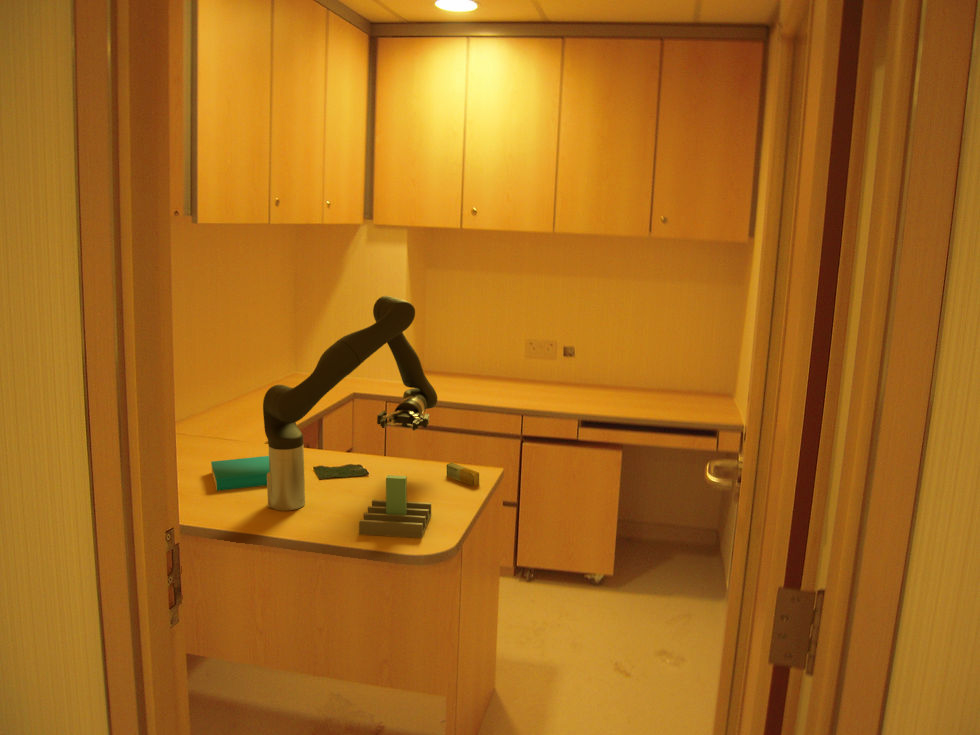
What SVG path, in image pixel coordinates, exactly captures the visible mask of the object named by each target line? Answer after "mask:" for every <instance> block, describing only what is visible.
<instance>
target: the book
mask: <svg viewBox="0 0 980 735" xmlns="http://www.w3.org/2000/svg"><path fill="white" fill-rule="evenodd" d="M210 464H211V476H212V478H214V479H213V482H214V486H215V488H216V491H217V492H218V491H227V490H229V491H230V490H238V489H243V488H244V489H247V488H253V487H254V488H255V487H262V486H267V474H268V473H269V455H264V456H263V455H261V456H253V457H244V458H243V457H242V458H235V459H224V460H215V461H214V460H213V461H211V462H210Z"/></svg>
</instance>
